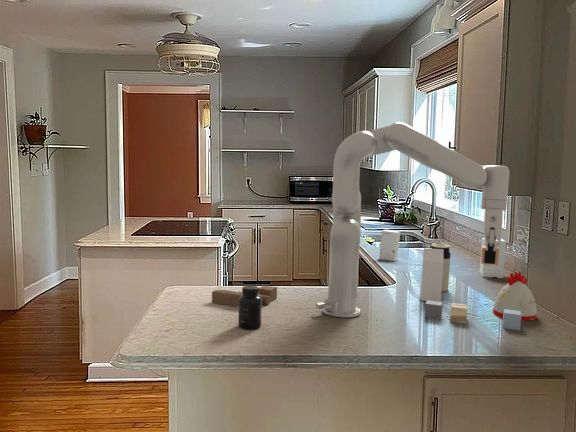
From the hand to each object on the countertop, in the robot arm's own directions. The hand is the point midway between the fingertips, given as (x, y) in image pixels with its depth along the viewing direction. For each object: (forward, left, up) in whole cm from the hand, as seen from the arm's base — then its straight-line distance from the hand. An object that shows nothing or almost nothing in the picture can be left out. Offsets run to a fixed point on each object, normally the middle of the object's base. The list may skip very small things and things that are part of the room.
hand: (489, 261), depth 184 cm
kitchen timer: (+19, +2, -21) cm, 28 cm away
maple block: (-5, +6, -21) cm, 22 cm away
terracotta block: (0, 0, -1) cm, 1 cm away
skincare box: (+51, +98, -21) cm, 112 cm away
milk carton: (+8, +30, -21) cm, 37 cm away
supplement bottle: (-69, +30, -21) cm, 78 cm away
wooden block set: (-56, +56, -21) cm, 82 cm away
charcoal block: (-10, +13, -21) cm, 26 cm away
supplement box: (+68, +49, -21) cm, 86 cm away
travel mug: (+23, +40, -21) cm, 50 cm away
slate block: (+5, -6, -21) cm, 22 cm away
